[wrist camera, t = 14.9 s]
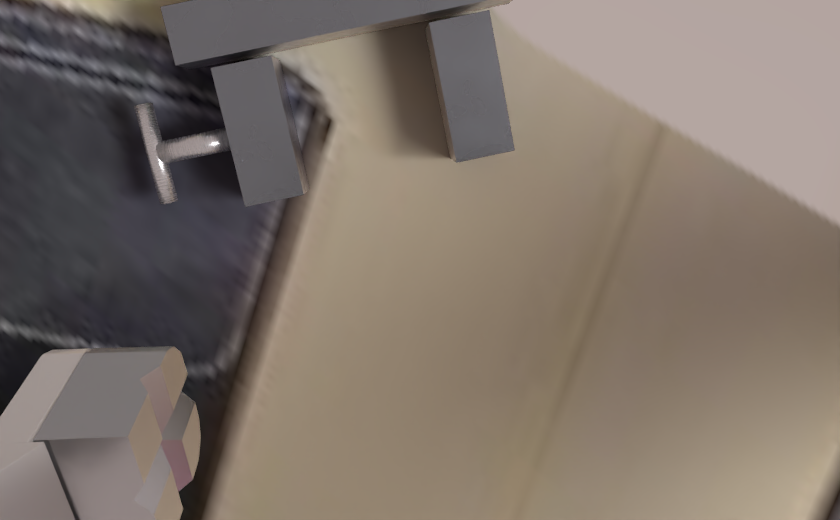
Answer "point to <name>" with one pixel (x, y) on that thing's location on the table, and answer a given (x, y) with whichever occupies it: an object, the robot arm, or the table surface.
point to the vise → (267, 94)
